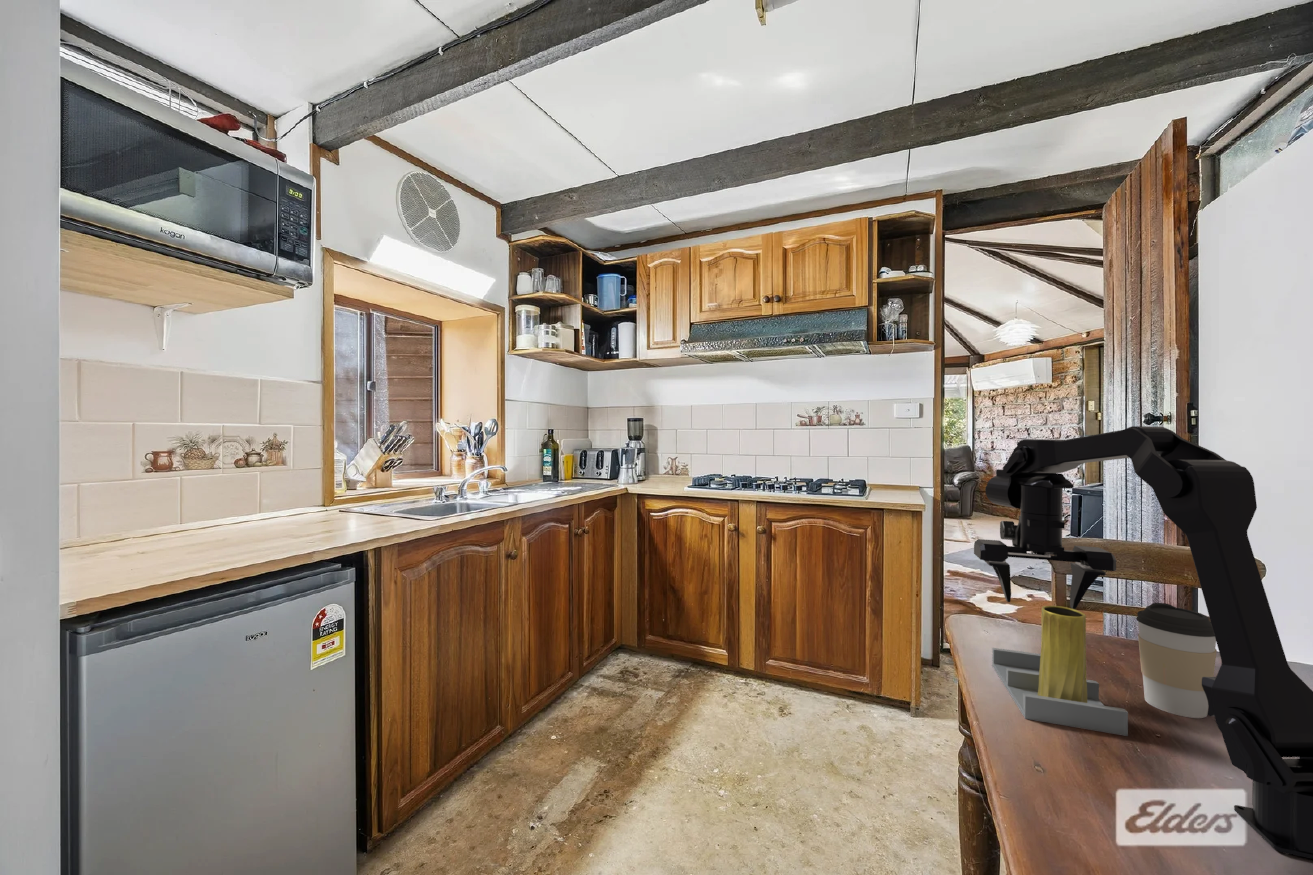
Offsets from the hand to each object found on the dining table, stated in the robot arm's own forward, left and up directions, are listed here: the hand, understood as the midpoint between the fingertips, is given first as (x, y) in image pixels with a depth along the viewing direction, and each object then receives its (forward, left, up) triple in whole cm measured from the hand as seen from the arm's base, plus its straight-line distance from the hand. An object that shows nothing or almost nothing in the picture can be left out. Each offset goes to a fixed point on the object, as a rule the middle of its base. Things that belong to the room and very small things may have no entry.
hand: (1039, 604), depth 88 cm
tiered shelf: (-6, 0, -13) cm, 14 cm away
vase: (-10, 0, -12) cm, 16 cm away
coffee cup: (-2, -17, -13) cm, 22 cm away
